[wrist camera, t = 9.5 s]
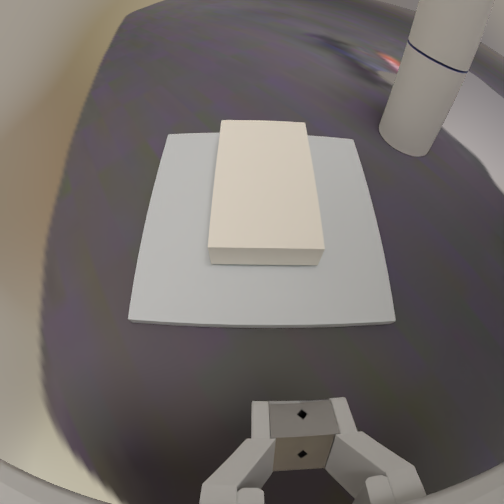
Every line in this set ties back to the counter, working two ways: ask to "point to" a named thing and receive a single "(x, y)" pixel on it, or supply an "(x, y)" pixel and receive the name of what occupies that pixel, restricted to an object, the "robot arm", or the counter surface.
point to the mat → (259, 276)
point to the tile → (264, 196)
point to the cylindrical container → (432, 71)
